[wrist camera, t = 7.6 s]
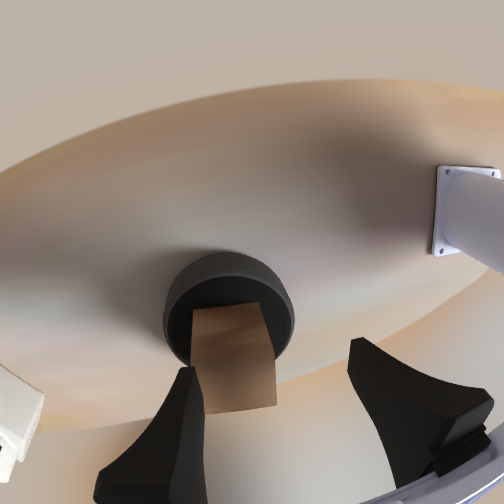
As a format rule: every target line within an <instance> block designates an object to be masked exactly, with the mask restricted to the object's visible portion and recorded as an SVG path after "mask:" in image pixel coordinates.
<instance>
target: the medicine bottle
mask: <svg viewBox="0 0 504 504" xmlns="http://www.w3.org/2000/svg"><path fill="white" fill-rule="evenodd" d="M44 398H45V395H44V394H43V393H42V392H40V391H38V390H37V389H35V388H34V387H32V386H31V385H29V384H27V383H26V382H24V381H23V380H21V379H20V378H18V377H17V376H15V375H14V374H13V373H11V372H10V371H8V370H7V369H6V368H4V367H3V366H1V365H0V482H1V483H6V482H8V480H9V478H10V475H11V472H12V469H13V466H14V463H15V461H16V460H18V461H19V462H23V461H24V458H25V455H26V452H27V450H28V447H29V445H30V442H31V440H32V437H33V435H34V432H35V430H36V427H37V425H38V423H39V418H40V414H41V410H42V406H43V402H44Z"/></svg>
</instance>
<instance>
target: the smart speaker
mask: <svg viewBox="0 0 504 504" xmlns="http://www.w3.org/2000/svg"><path fill="white" fill-rule="evenodd" d="M253 302H259V305H260V308H261V311H262V314H263V318H264V321H265V324H266V327H267V330H268V333H269V337H270V340H271V343H272V346H273V349H274V353H275V360H276V359H277V358H278V357H279V356H280V355H281V354H282V352H283V351H284V350H285V348H286V347H287V345H288V343H289V341H290V339H291V336H292V333H293V329H294V321H295V317H294V310H293V306H292V303H291V300H290V298H289V296H288V294H287V292H286V290H285V288H284V286H283V284H282V282H281V281H280V279H279V278H278V277H277V275H276V274H275V273H274V272H273V271H272V270H271V269H270V268H269V267H268V266H266V265H265V264H264V263H262V262H260V261H258V260H256V259H254V258H252V257H249V256H245V255H241V254H233V253H223V254H215V255H211V256H207V257H204V258H202V259H200V260H197V261H196V262H194V263H192V264H191V265H189V266H188V267H187V268H185V269H184V270H183V271H182V272H181V273H180V274H179V275H178V277H177V278H176V279H175V281H174V282H173V284H172V286H171V288H170V290H169V293H168V296H167V301H166V305H165V310H164V315H163V330H164V335H165V338H166V341H167V343H168V345H169V347H170V349H171V350H172V352H173V353H174V354H175V356H176V357H177V358H178V359H179V360H180V361H181V362H183V363H184V364H185V365H187V366H188V367H191V363H190V362H191V342H192V325H193V310H197V309H206V308H214V307H223V306H231V305H238V304H246V303H253Z"/></svg>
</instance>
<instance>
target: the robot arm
mask: <svg viewBox="0 0 504 504" xmlns="http://www.w3.org/2000/svg"><path fill="white" fill-rule="evenodd" d="M446 170H447V173H446ZM500 177H501V173H500V170H499V169H494V168H481V167H465V166H442V165H441V166H439V167H438V170H437V196H436V212H435V224H434V235H433V244H432V255H433V256H435V257H439V256H444V255H449V254H454V253H459V252H464V253H465V254H467V255H469V256H471V257H473V258H474V259H476V260H478V261H480V262H481V263H483V264H485V265H486V266H488V267H490V268H491V269H493V270H495V271H496V272H498V273H500V274H502V275H503V276H504V180H502V179H500ZM440 249H441V251H440ZM347 372H348V374H349V377H350V380H351V382H352V385H353V387H354V389H355V391H356V393H357V394H358V396H359V398H360V400H361V402H362V403H363V405H364V407H365V409H366V410H367V412H368V414H369V416H370V417H371V419H372V421H373V423H374V425H375V427H376V429H377V431H378V434H379V436H380V439H381V441H382V444H383V446H384V449H385V452H386V455H387V458H388V461H389V464H390V467H391V470H392V474H393V477H394V481H395V485H396V490H394V491H392V492H389V493H387V494H384V495H382V496H379V497H377V498H374V499H371V500H369V501H366V502H363V503H360V504H472V503H474V502H475V501H477V500H478V499H479V498H481V497H482V496H484V495H485V494H486V493H487V492H489V491H490V490H491V489H493V488H494V487H495V486H497V485H498V484H499V483H500V482H502V481H503V480H504V422H503V423H502V424H501V425H499V426H498V427H497V428H495V429H494V430H492V431H491V432H490V433H489V434H488V435H486V434H485V432H484V431H485V430H486V427H485V426H484V424H483V423H484V422H485V420H486V418H487V417H488V415H489V414H490V412H491V410H492V408H493V406H494V399H493V398H492V397H491V396H490V395H489V394H488V393H487V391H486V390H485V389H482V388H474V387H466V386H462V385H457V384H453V383H449V382H445V381H442V380H439V379H436V378H434V377H431V376H428V375H426V374H424V373H421V372H419V371H417V370H415V369H413V368H411V367H409V366H408V365H406V364H404V363H402V362H400V361H399V360H397V359H395V358H394V357H392V356H391V355H389V354H387V353H386V352H384V351H383V350H381V349H380V348H379V347H377V346H375V345H374V344H373V343H371V342H370V341H368V340H367V339H365V338H364V337H361V338H357V339H352V340H351V345H350V354H349V361H348V369H347ZM204 419H205V412H204V399H203V394H202V390H201V387H200V384H199V380H198V377H197V373H196V370H195V366H191V367H181V368H180V369H179V372H178V374H177V376H176V379H175V381H174V383H173V385H172V387H171V389H170V391H169V393H168V395H167V397H166V399H165V401H164V402H163V404H162V406H161V407H160V409H159V411H158V412H157V414H156V415H155V417H154V418H153V420H152V421H151V423H150V424H149V425H148V427H147V428H146V430H145V431H144V432H143V433H142V434H141V436H139V438H138V439H137V440H136V441H135V442H134V443H133V444H132V445H131V446H130V447H129V448H128V449H127V450H126V451H125V452H124V453H123V454H122V455H121V456H119V457H118V458H117V459H116V460H115V461H114V462H112V463H111V464H109V465H108V466H107V467H105V468H104V469H102V470H101V471H99V474H98V477H97V481H96V485H95V490H94V495H93V499H94V501H95V502H96V503H97V504H208V502H207V495H206V486H205V477H204V465H203V445H204V422H205V420H204Z"/></svg>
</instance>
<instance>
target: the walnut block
mask: <svg viewBox="0 0 504 504" xmlns="http://www.w3.org/2000/svg"><path fill="white" fill-rule="evenodd" d="M190 363H191V366H195V370H196V373H197V377H198V380H199V384H200V387H201V390H202V394H203V399H204V412H205V415H206V414H217V413H226V412H235V411H242V410H250V409H257V408H263V407H269V406H275V405H277V396H276V374H275V353H274V349H273V346H272V343H271V340H270V337H269V333H268V330H267V327H266V324H265V321H264V318H263V314H262V311H261V308H260V305H259V302H253V303H246V304H238V305H231V306H223V307H214V308H206V309H197V310H193V325H192V342H191V362H190Z"/></svg>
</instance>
